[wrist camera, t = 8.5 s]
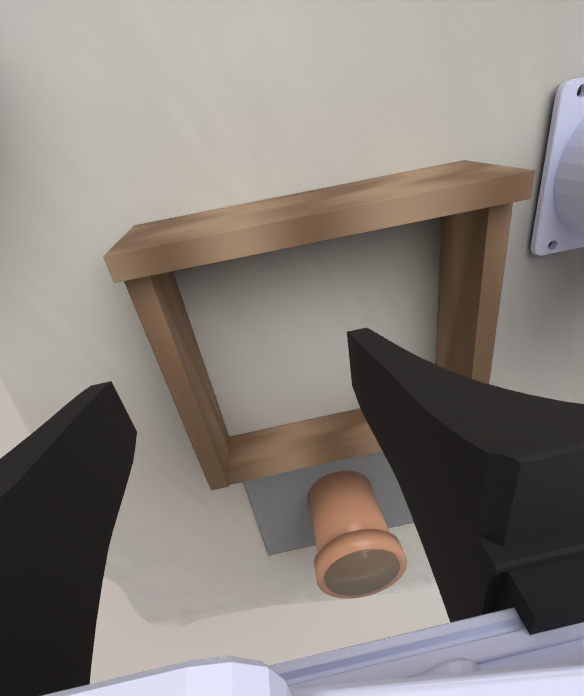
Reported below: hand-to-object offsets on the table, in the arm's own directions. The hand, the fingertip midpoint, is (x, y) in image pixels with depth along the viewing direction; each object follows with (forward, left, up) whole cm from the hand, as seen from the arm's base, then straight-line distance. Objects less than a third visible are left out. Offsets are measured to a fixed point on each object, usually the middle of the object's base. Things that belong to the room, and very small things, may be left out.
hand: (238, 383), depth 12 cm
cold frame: (-4, +4, -9) cm, 11 cm away
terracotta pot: (-4, +18, -9) cm, 21 cm away
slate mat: (-4, +19, -9) cm, 22 cm away
